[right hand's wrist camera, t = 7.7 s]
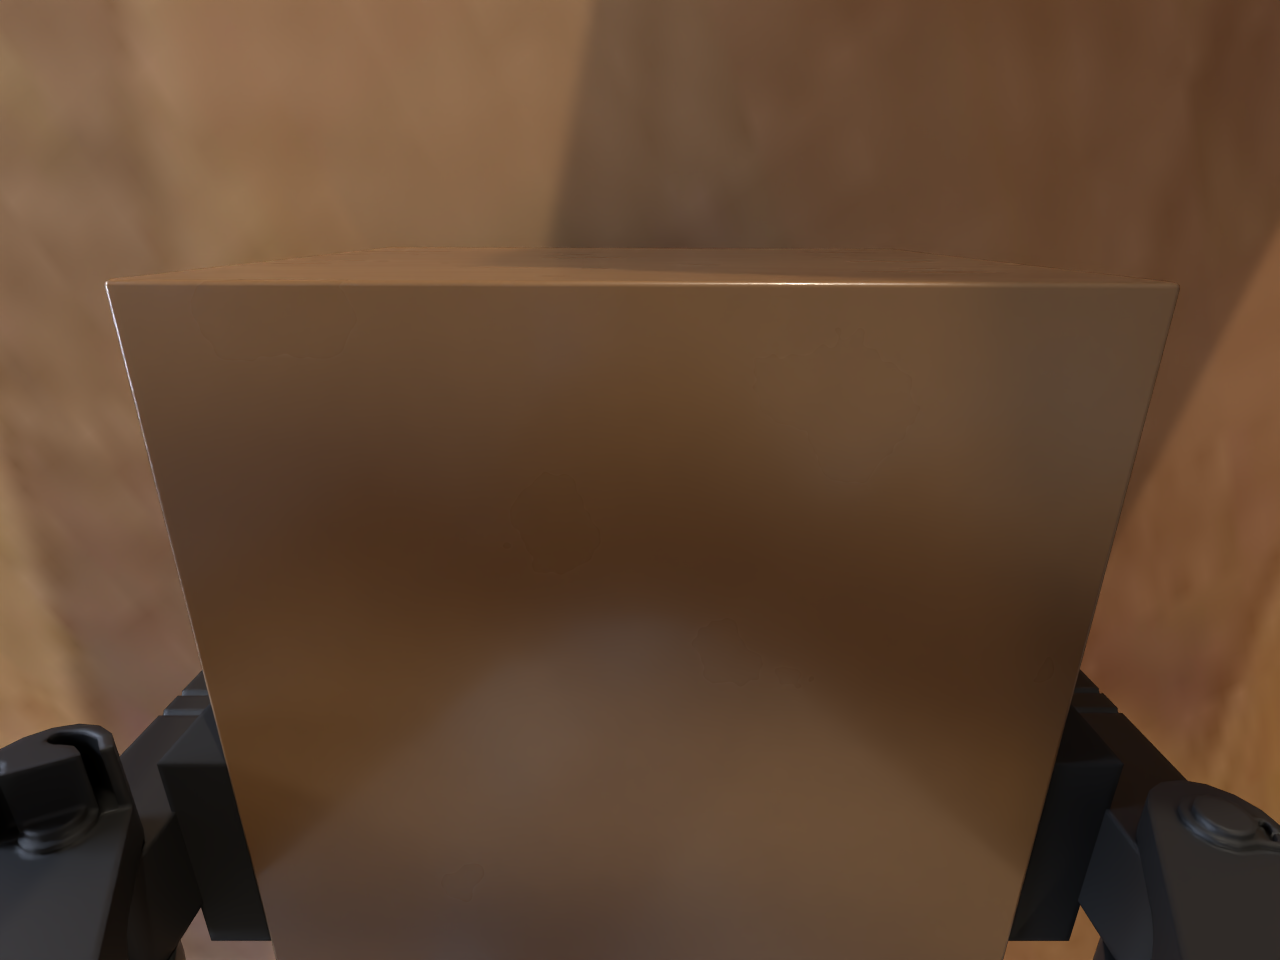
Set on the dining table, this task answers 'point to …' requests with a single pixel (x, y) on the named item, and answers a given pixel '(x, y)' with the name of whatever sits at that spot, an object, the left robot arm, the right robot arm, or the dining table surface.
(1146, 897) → the right robot arm
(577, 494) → the thick board
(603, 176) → the dining table surface
